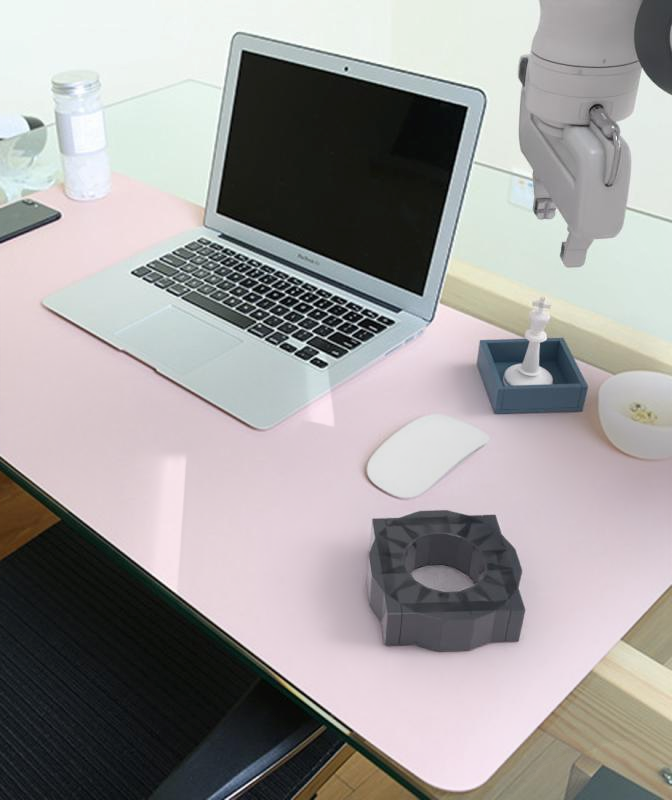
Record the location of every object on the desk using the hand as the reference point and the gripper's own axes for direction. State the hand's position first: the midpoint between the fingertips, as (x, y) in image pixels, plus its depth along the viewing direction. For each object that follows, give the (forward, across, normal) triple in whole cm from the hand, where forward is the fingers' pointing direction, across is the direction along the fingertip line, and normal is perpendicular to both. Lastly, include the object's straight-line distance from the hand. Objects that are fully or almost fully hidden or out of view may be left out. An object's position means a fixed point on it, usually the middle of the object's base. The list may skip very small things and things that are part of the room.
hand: (556, 238), depth 87 cm
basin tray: (+17, 0, 0) cm, 17 cm away
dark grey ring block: (+17, -27, +14) cm, 34 cm away
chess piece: (+16, 0, 0) cm, 16 cm away
